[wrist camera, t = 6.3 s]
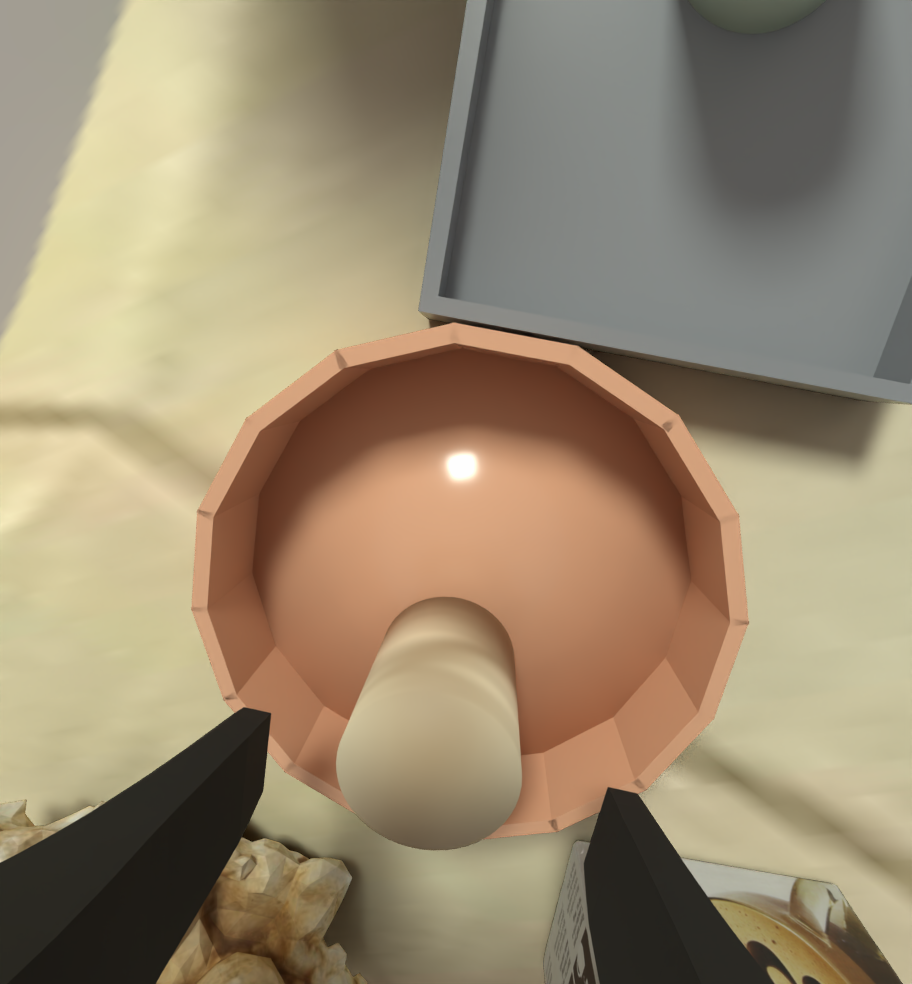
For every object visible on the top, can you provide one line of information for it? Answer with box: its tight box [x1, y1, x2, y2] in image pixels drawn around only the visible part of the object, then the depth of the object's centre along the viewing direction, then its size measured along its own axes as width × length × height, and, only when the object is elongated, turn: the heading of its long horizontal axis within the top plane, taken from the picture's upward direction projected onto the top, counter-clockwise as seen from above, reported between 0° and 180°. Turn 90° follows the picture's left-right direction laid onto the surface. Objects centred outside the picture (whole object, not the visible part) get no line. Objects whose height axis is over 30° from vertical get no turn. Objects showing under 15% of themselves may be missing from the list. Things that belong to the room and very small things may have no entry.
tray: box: [418, 0, 912, 405], centre depth 11 cm, size 12×12×2 cm
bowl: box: [191, 322, 749, 839], centre depth 13 cm, size 13×13×3 cm
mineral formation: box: [0, 800, 368, 984], centre depth 15 cm, size 8×13×15 cm
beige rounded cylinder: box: [336, 597, 522, 850], centre depth 13 cm, size 4×4×4 cm
